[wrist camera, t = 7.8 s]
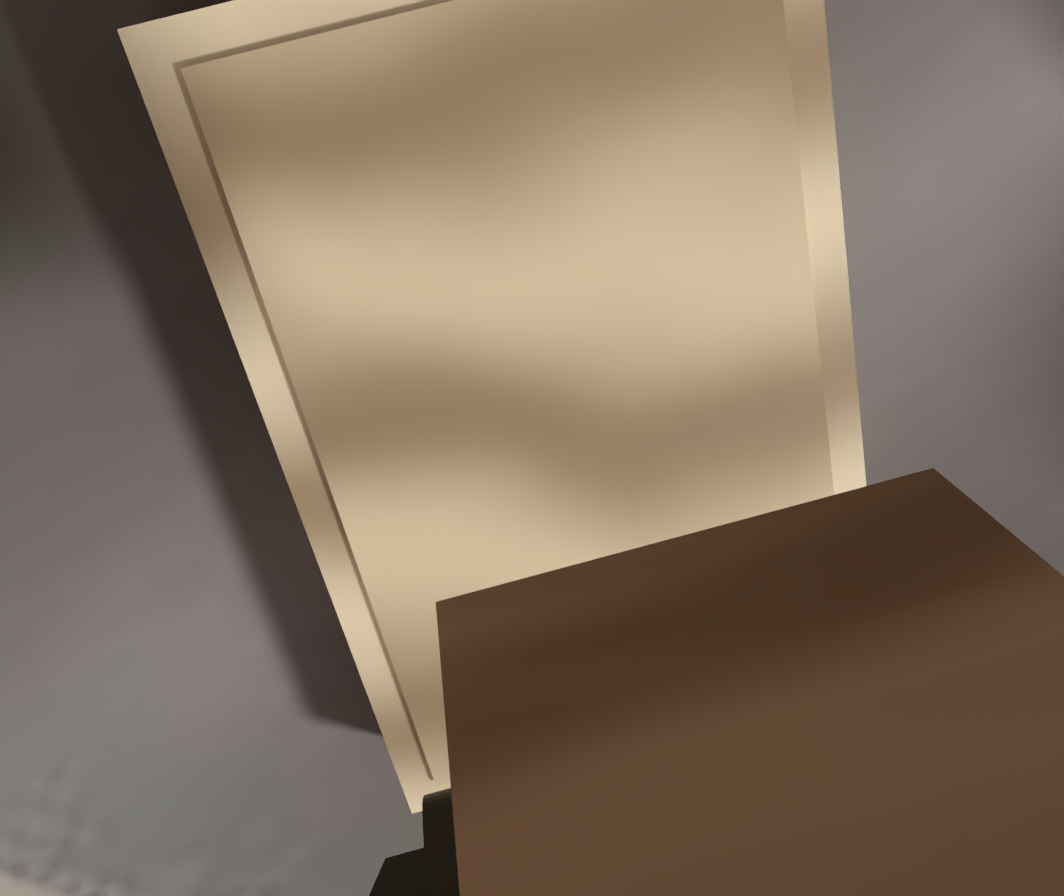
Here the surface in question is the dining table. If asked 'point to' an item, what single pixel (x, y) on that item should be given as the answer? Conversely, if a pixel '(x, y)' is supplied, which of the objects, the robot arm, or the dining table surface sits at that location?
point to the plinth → (514, 285)
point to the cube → (768, 710)
